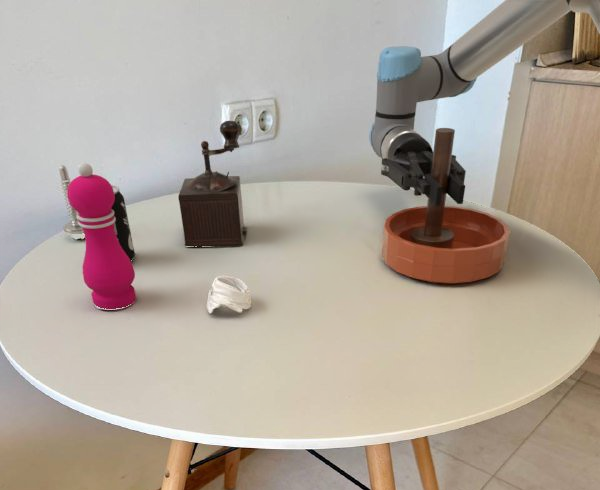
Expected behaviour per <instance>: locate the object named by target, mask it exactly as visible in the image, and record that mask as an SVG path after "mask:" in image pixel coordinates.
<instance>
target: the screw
mask: <svg viewBox="0 0 600 490" xmlns="http://www.w3.org/2000/svg"><path fill="white" fill-rule="evenodd" d="M58 170H59V175H60V180H61V181H60V183H61V185H60V186H61V187H62V188H61V189H62V190H63V191H62V193H63V197H64V200H65V203H66V205H65V206H66V207H67V209H66V210H68V212H67V213H68V216H69V220H70V222H67V223H66V224H64V226H63V228H62V229H63V231H64V232H65V233H68V234H70V235H71V234H82V233H84V231H83V228H82V227H81V226H79V225H78V219H77V217H76V216H77V214H78V212H77V211H76V210H75V209H73V208H72V206H71V205H70V203H69V200H68V195H67V192H68V186H69V184H70V183H71V181H72V180H71V178H70V176H69V172H68V170H67V167H66V165H64V164H61V165H59V169H58Z"/></svg>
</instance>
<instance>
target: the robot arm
mask: <svg viewBox="0 0 600 490" xmlns="http://www.w3.org/2000/svg"><path fill="white" fill-rule="evenodd" d="M569 12H573V13H581V14H588V15H589V16H590V18H591V20H592V22H593V24H594V26H595V28H596V30H597V31H598V33H599V34H600V0H504V1H503V2H501V3H500V4H499V5H498V6H497V7H495V8H494V9H493V10H492V11H491V12H489V13H488V14H487V15H485V16H484V17H483V18H482V19H480V20H479V21H478V22H477V23H476V24H474V25H473V26H472V27H471V28H470V29H469V30H467V31H466V32H464V34H463V35H462V36H460V37H459V38H458V39H456V40H455V41H454V42H453V43H452V44H451V45H450V46H449V47H447V48H446V49H445V50H443V51H442V52H440V53H438V54H434V55H424V56H422V52H421V50H420V48H418V47H417V46H404V45H403V46H402V45H401V46H387V47H385V48H383V49H382V50H381V51H380V53H379V57H378V66H377V73H376V78H377V81H376V101H375V104H376V105H375V115H374V122H373V123H372V125H371V126H370V130H369V134H368V138H369V139H368V140H369V143H370V146H371V147H372V150H373V152H374V153H375V155H376V156H378V158H380V159H381V167H380V175H381V176H384V177H386V178H388V179H389V180H390V181H392V182H393V183H394V184H395V185H397V186H398V187H399V188H400V189H402V190H404V191H410V190H411V188H412V189H413V195H414V196H416V197H417V196H419V197H420V196H422V195H425V196H426V197H427V199H428V198H429V199H430V200H431V201H432V202H433V203H434V204H435V205H440V204H441V196H442V188H443V187H442V186H441V185H440V184H439V183H438V182H437V181H436V180H435V179H434V178H433V177H432V176H431V168H432V159H433V150H434V149H433V148H432V146H431V144H430V142H429V141H427V140H426V138H424V137H423V136H422V135H421V134H420V133H418V132H417V131H416V130H415V121H416V113H417V104H418V103H421V102H428V101H434V100H439V99H445V98H455V97H458V96H460V95H463V94H466V93H468V92H469V91H471V90H472V89H473V87H474V85H475V83H476V81H477V79H478V77H480V76H481V75H483V74H484V73H485V72H487V71H488V70H490V69H491V68H492V67H494V66H496V65H497V64H498V63H500V62H501V61H502V60H504V59H505V58H507V57H508V56H509V55H512V53H514V52H515V51H516V50H518V49H519V48H521V47H522V46H524V44H526V43H527V42H529V41H531V39H533V38H535V37H536V36H538V35H539V34H540V33H542V32H543V31H544V30H545V29H547V28H549V27H550V26H551V25H553V24H555V23H556V22H557V21H559V20H560V19H561V18H563V17H564V16H566V15H567V14H568V13H569ZM466 173H467V171H466V169H465V168H464V167H463V166H462V165H461V164H460V163H459V161H458V160H457V156H456V154H455V155H454V154H452V156H451V164H450V171H449V179H448V186H447V194H446V195H448V196H449V198H451V199H452V200H453V201H454V202H455V203H456V204H457V205H463V204H464V198H465V191H466V185H465V179H466Z"/></svg>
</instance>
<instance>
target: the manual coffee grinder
mask: <svg viewBox="0 0 600 490" xmlns="http://www.w3.org/2000/svg"><path fill="white" fill-rule="evenodd" d="M242 131H243V128H242V125H241V123H239V122H238V121H235V120H225V121H223V122H222V123H221V124H220V127H219V132H220V134H221V136H222V137H223V139H224V145H223V148H218V149H209V146H210V145H209V142H208V141H207V140H203V141H201V143H200V147H201V155H202V156H203V160H204V161H203V162H204V168H205V169H204V170H205V171H204V172H203V173H201V174H198V175H197V176H195V177H191V178H184V180H183V182H182V186H181V188H180V190H179V193H178V202H179V210H180V217H181V223H182V230H183V238H184V247H185V246H194V247H195V246H197V247H202V246H215V247H214V248H218V247H217V246H231V247H240V246H239V245H242V246H243V245H244V243H245V242H244V241H245V238H246V235H247V234H248V228H247V227H246V225H245V223H244V209H243V208H244V207H243V198H242V197H243V196H242V187H241V177H240V175H229V174H230V171H227V174H224V173H221V172H218V171H213V169H212V167H211V161H210V157H211V156H217V155H222V154H225V153H227V152H230V153H232V152H233V151H234V150H236V149H239V148H240V145H239V142H238V139H239V138H240V136H241V134H242Z"/></svg>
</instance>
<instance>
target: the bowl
mask: <svg viewBox="0 0 600 490" xmlns="http://www.w3.org/2000/svg"><path fill="white" fill-rule="evenodd" d="M426 211H427V205H422V206H415V207H409V208H405V209H402V210H399V211H396V212H394V213H391V215H390V216H388V217H387V218H386V219H385V220H384V225H383V235H382V236H383V237H382V248H381V249H382V251H381V258H382V259H383V261H384V263H385V265H387V266H388V267H390V268H391V269H392V270H394V271H395V272H397V273H399V274H402V275H404V276H407V277H409V278H412V279H415V280H418V281H422V282H427V283H436V284H464V283H471V282H476V281H479V280H484V279H488V278H489V277H492V276H494V275H495V274H497V273H499V272H500V270H501V269H502V268H503V266H504V265H505V261H506V255H507V251H508V246H509V241H510V236H511V232H510V228H509V227H510V226H509V224H508V225H507V223H506V222H505V221H503V220H502V218H499V217H497V216H495V215H492V214H491V213H488V212H484V211H481V210H478V209H474V208H470V207H469V208H468V207H463V206H455V205H445V209H444V216H443V224H442V227H443V228H446V229H449V230H450V231H452V232H453V233H454V239H453V246H452V248H451V249H450V248H435V247H430V246H425V245H419V244H416V243H413V242H410V239H411V232H412V230H413V229H415V228H418V227H422V226H425V220H426Z"/></svg>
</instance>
